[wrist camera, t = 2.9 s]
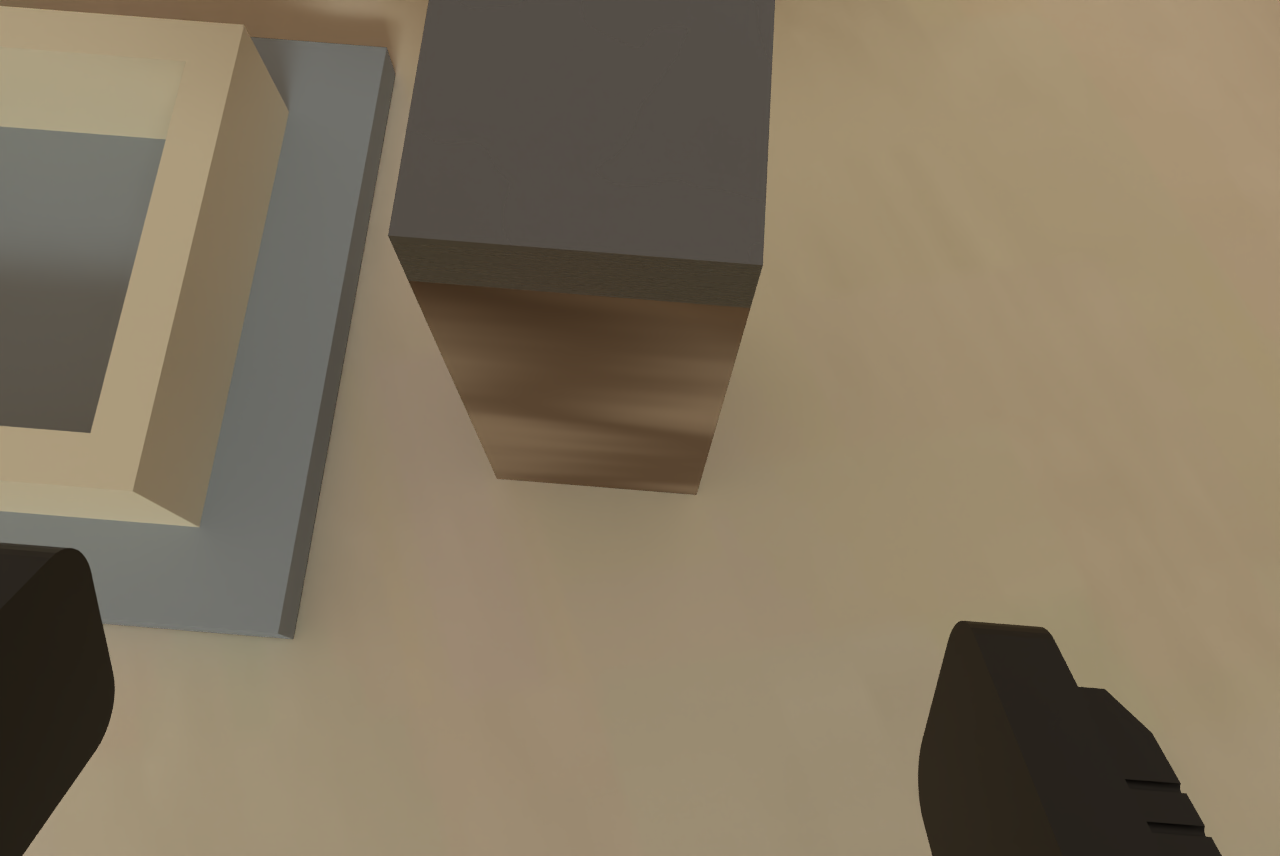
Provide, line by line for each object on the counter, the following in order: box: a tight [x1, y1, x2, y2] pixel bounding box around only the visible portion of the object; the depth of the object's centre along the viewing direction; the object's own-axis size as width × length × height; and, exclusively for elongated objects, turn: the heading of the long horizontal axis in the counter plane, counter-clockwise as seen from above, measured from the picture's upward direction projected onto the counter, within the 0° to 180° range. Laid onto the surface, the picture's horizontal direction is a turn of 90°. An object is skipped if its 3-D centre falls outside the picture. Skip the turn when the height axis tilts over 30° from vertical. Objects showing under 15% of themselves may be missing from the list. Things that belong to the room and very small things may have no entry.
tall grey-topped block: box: [388, 0, 775, 495], centre depth 18 cm, size 4×4×11 cm
